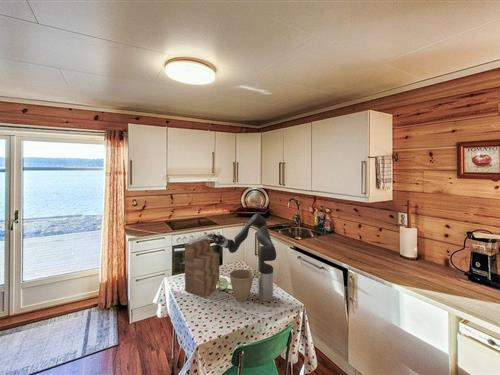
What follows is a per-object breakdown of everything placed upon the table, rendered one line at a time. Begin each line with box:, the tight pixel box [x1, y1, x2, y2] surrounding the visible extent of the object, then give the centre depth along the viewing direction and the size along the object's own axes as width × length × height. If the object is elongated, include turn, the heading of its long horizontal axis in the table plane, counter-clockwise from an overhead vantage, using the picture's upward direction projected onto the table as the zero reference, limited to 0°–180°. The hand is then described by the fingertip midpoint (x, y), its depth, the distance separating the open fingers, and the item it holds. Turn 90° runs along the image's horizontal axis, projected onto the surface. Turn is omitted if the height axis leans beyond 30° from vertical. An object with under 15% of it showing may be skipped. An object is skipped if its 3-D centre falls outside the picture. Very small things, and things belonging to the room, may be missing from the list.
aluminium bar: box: [188, 231, 216, 245], centre depth 170 cm, size 24×3×3 cm, turn 149°
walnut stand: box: [184, 239, 220, 299], centre depth 165 cm, size 16×16×32 cm
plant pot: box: [229, 268, 255, 303], centre depth 154 cm, size 15×15×16 cm
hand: (209, 234), depth 175 cm, fingers open, 8 cm apart
